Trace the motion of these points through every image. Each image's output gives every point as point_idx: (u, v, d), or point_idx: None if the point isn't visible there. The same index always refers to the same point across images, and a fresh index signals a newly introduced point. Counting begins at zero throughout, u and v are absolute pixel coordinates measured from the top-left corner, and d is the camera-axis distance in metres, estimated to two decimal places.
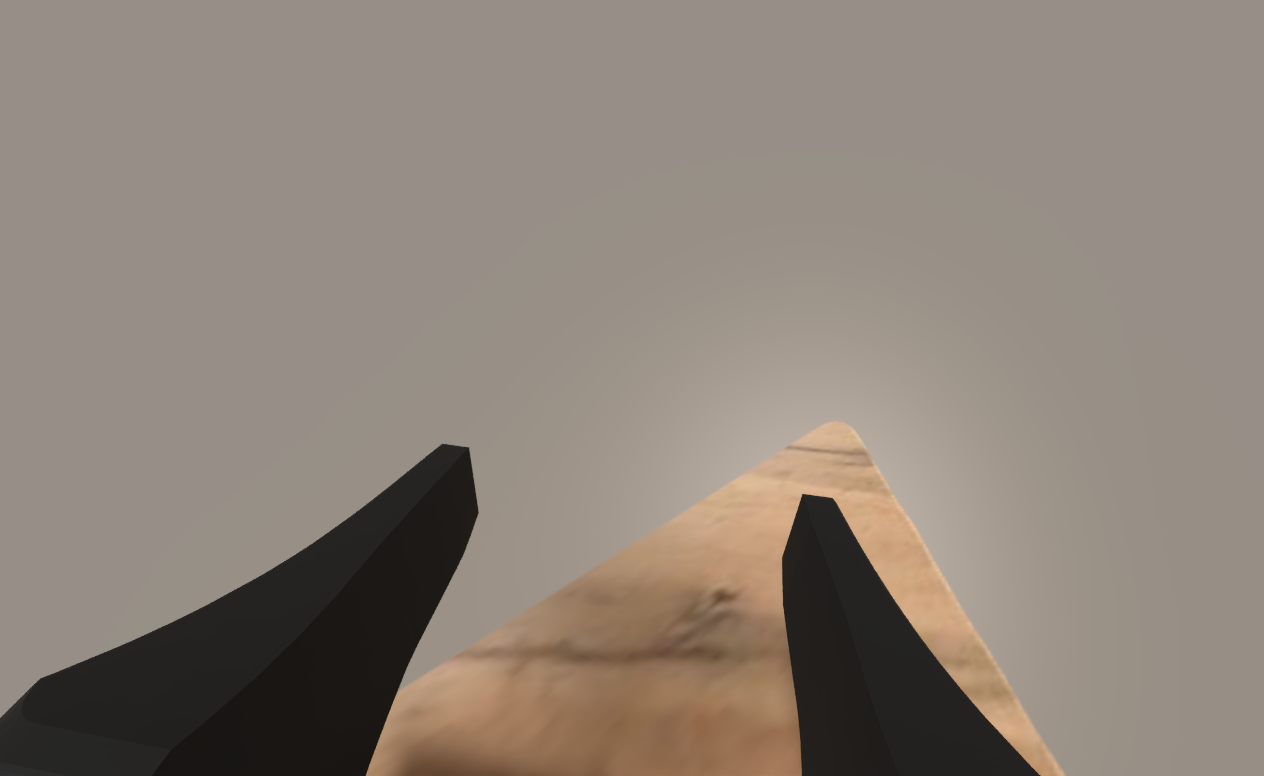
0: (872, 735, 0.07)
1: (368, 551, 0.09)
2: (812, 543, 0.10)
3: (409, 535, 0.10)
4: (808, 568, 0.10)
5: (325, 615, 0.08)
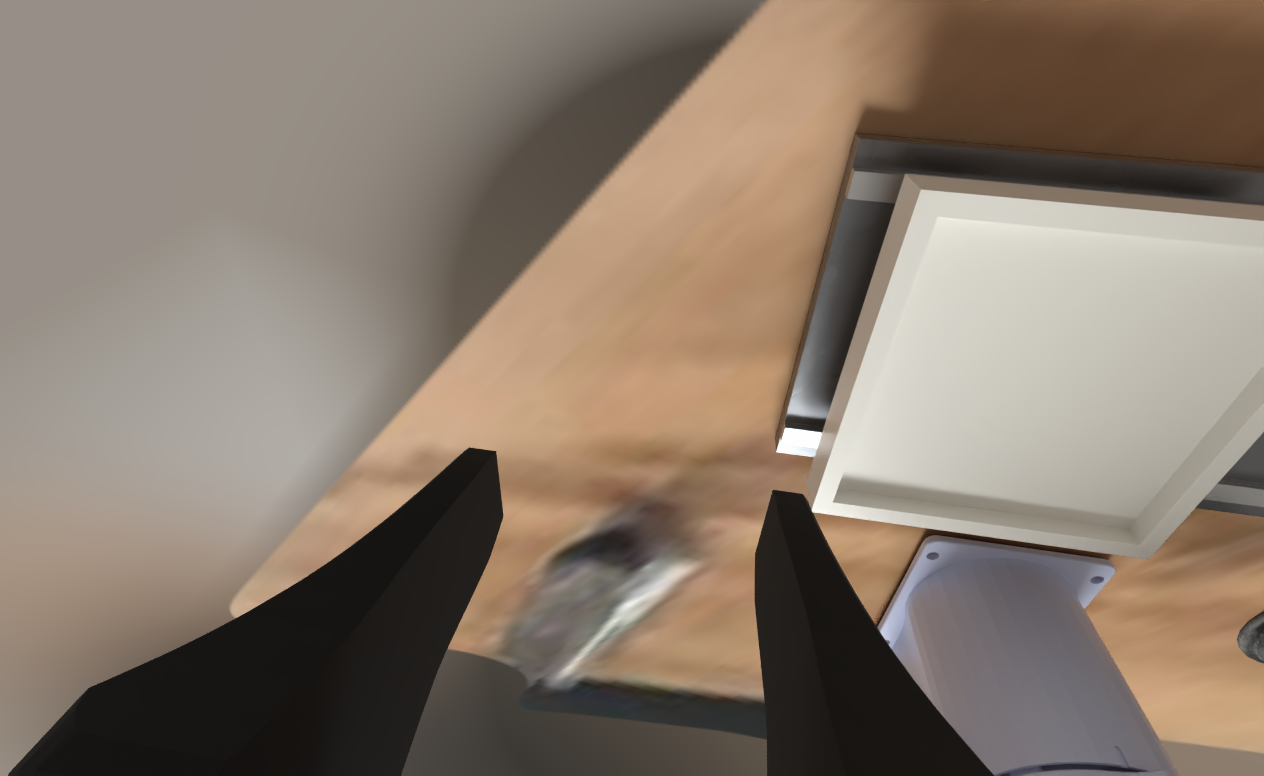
0: (823, 726, 0.07)
1: (404, 557, 0.09)
2: (779, 538, 0.10)
3: (441, 540, 0.10)
4: (775, 563, 0.10)
5: (365, 622, 0.08)
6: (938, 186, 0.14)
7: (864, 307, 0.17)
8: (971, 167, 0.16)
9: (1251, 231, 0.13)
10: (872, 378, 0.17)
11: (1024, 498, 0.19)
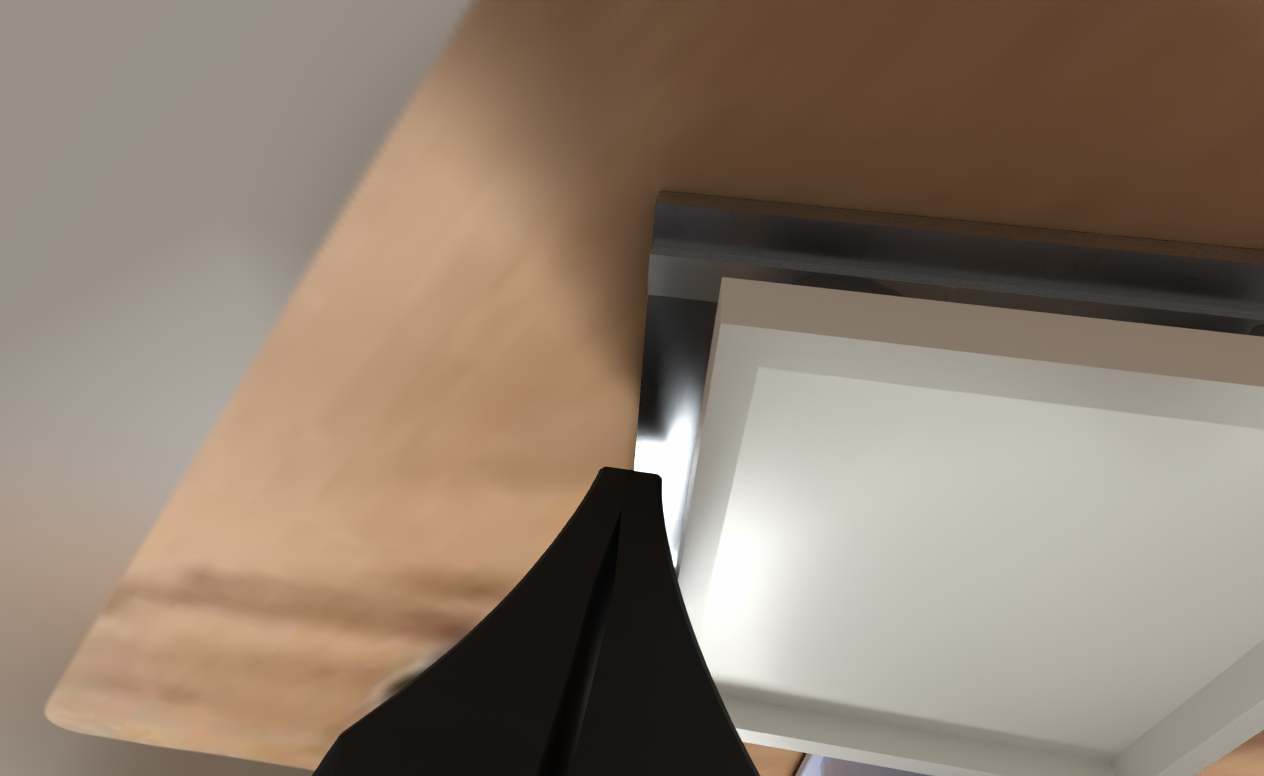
0: (593, 687, 0.07)
1: (586, 586, 0.09)
2: None
3: (606, 565, 0.10)
4: None
5: (573, 657, 0.08)
6: (760, 312, 0.08)
7: (691, 469, 0.11)
8: (834, 249, 0.10)
9: None
10: (701, 583, 0.10)
11: (957, 719, 0.13)
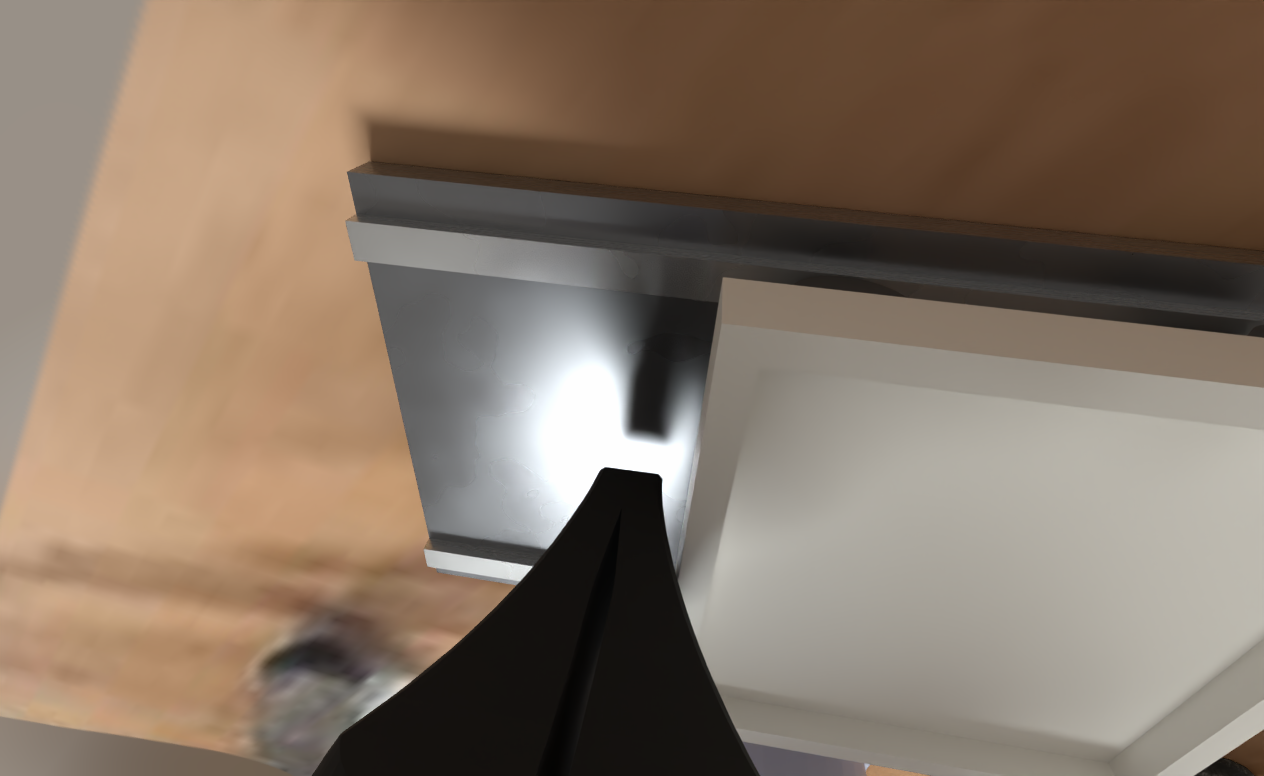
0: (593, 687, 0.07)
1: (586, 585, 0.09)
2: None
3: (606, 565, 0.10)
4: None
5: (572, 657, 0.08)
6: (761, 312, 0.08)
7: (692, 469, 0.11)
8: (517, 216, 0.11)
9: None
10: (701, 583, 0.10)
11: (957, 719, 0.13)
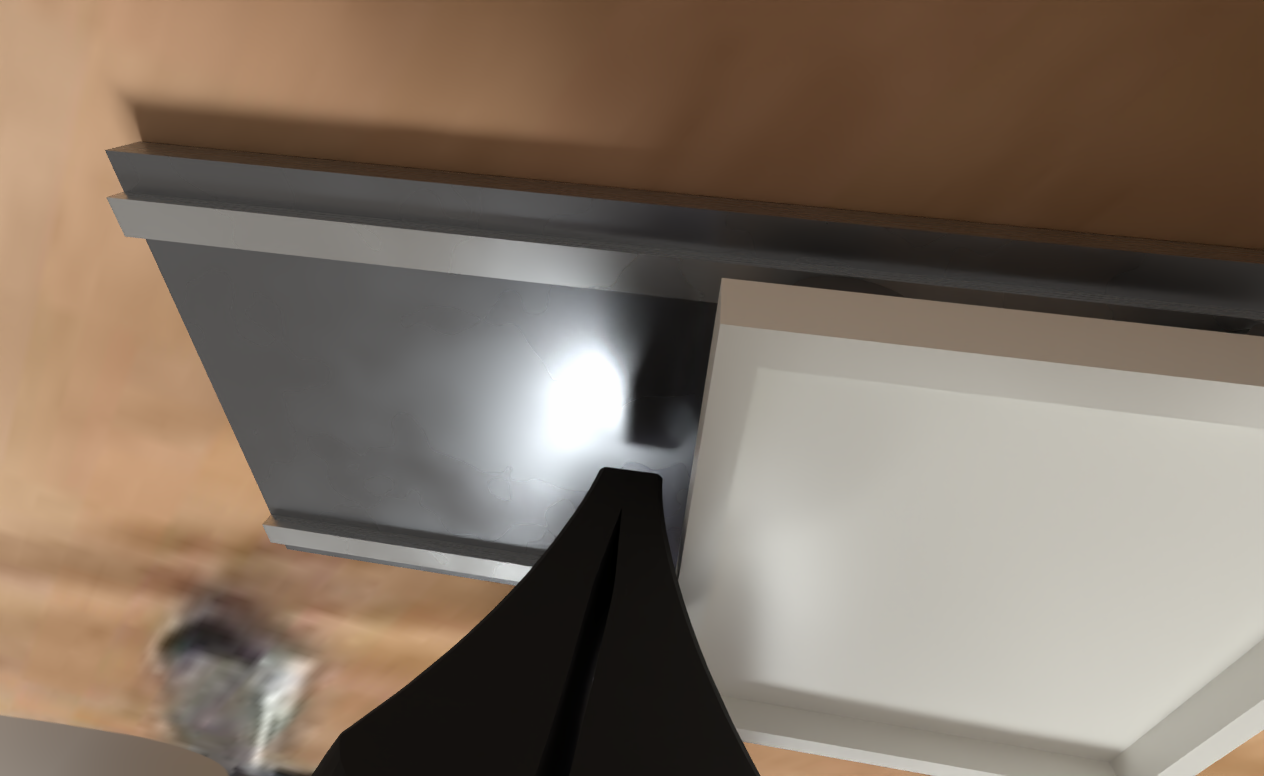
0: (594, 687, 0.07)
1: (586, 586, 0.09)
2: None
3: (605, 565, 0.10)
4: None
5: (572, 657, 0.08)
6: (760, 312, 0.08)
7: (692, 468, 0.11)
8: (269, 192, 0.11)
9: None
10: (702, 583, 0.10)
11: (958, 719, 0.13)
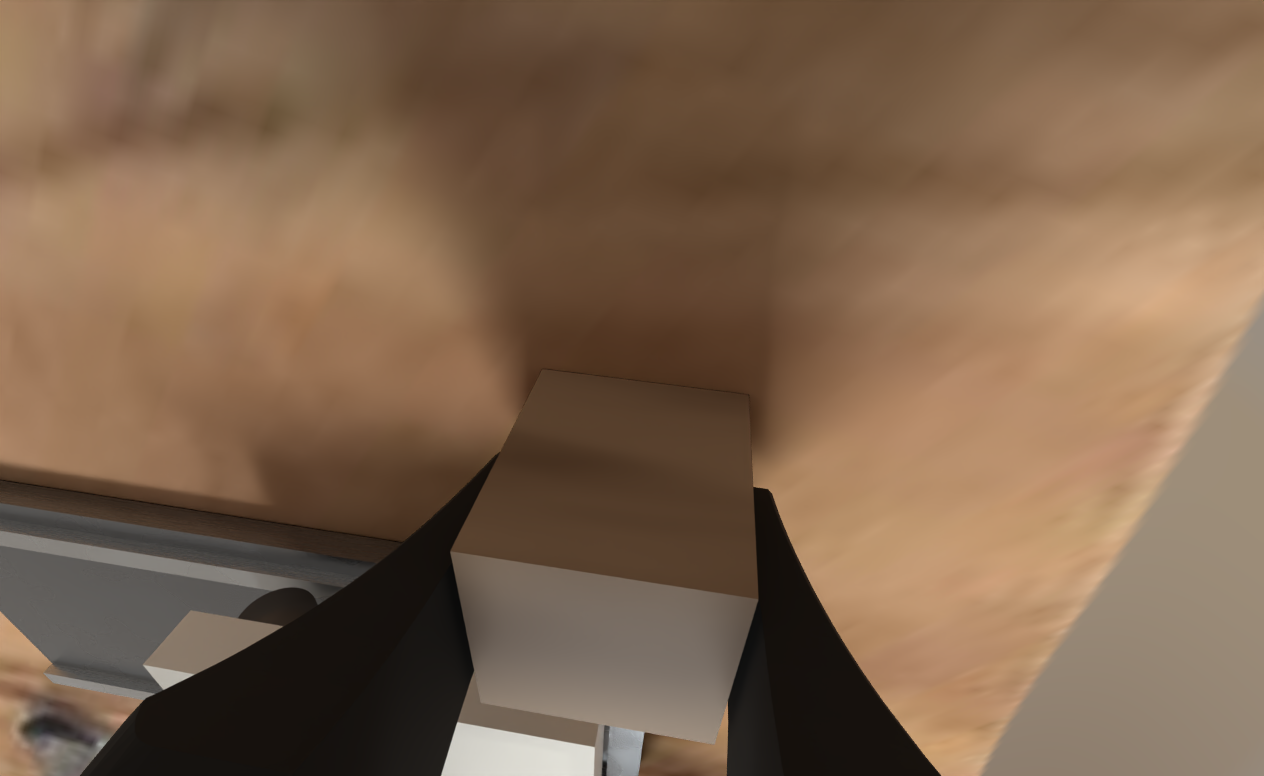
0: (767, 717, 0.07)
1: (445, 563, 0.09)
2: None
3: None
4: None
5: (412, 630, 0.08)
6: (177, 651, 0.14)
7: None
8: None
9: None
10: None
11: None
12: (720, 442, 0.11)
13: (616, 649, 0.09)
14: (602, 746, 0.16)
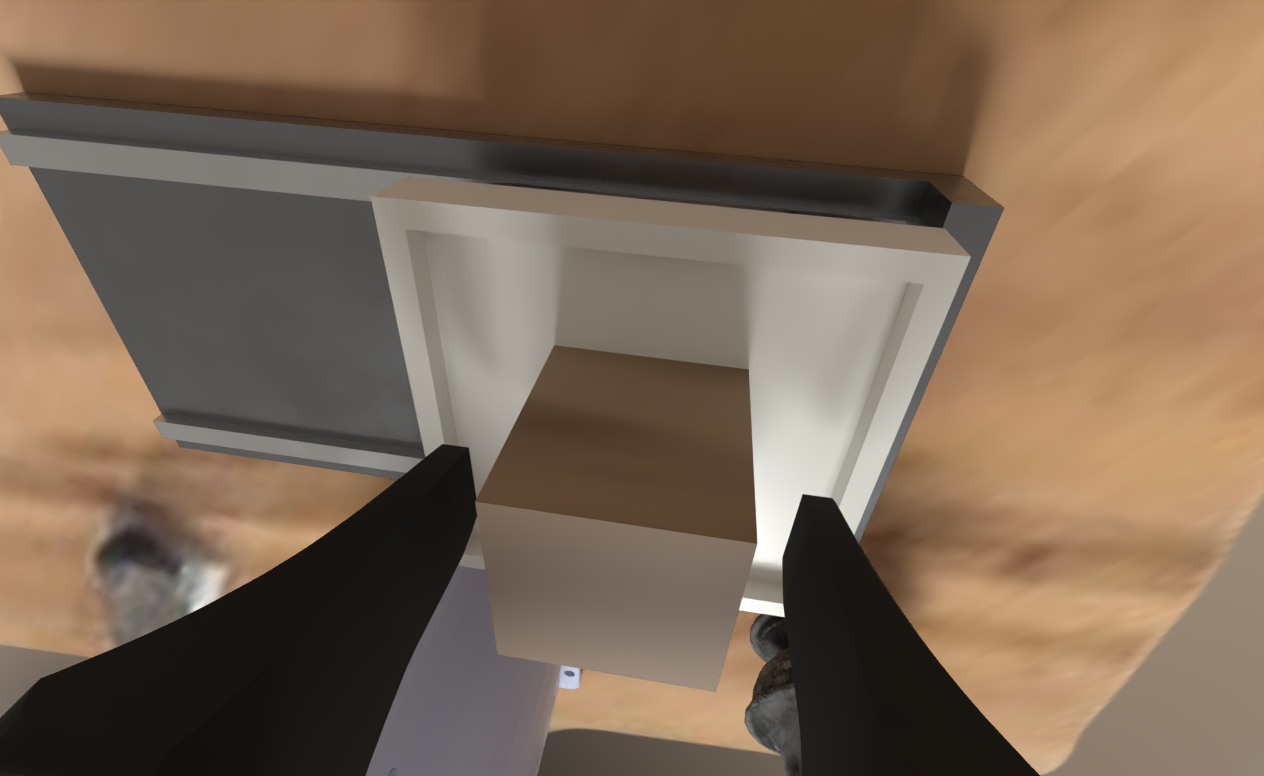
0: (871, 734, 0.07)
1: (368, 551, 0.09)
2: (812, 543, 0.10)
3: (409, 535, 0.10)
4: (808, 568, 0.10)
5: (325, 615, 0.08)
6: (407, 192, 0.11)
7: None
8: (115, 128, 0.15)
9: (756, 248, 0.10)
10: (433, 418, 0.14)
11: None
12: (721, 410, 0.11)
13: (626, 597, 0.10)
14: None
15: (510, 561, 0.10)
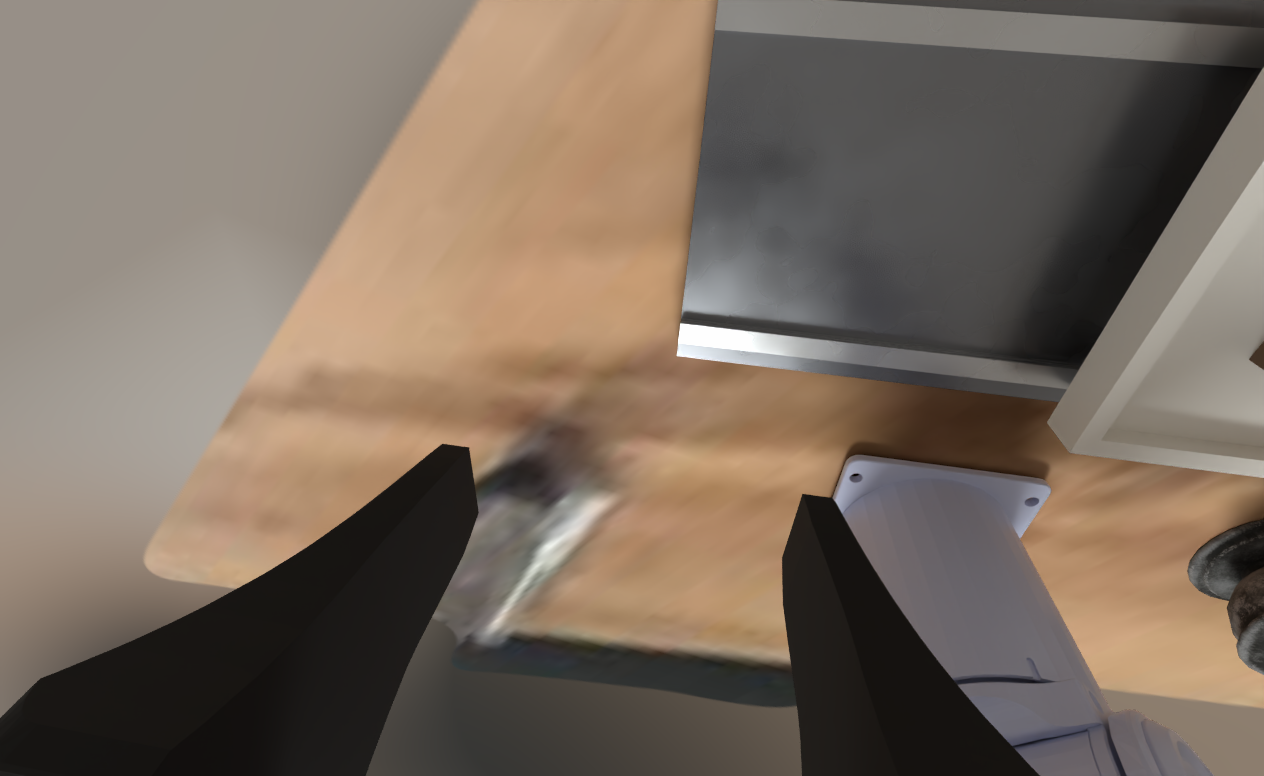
0: (871, 735, 0.07)
1: (368, 551, 0.09)
2: (812, 543, 0.10)
3: (409, 535, 0.10)
4: (808, 568, 0.10)
5: (325, 615, 0.08)
6: None
7: (1193, 193, 0.14)
8: None
9: None
10: (1207, 277, 0.14)
11: None
12: None
13: None
14: None
15: None
